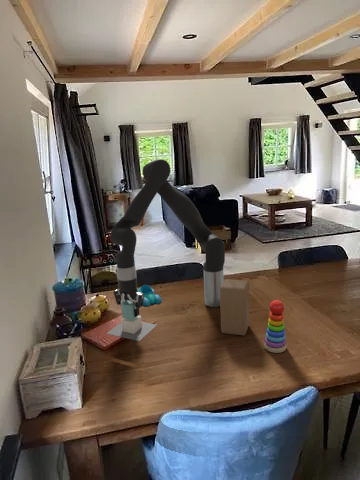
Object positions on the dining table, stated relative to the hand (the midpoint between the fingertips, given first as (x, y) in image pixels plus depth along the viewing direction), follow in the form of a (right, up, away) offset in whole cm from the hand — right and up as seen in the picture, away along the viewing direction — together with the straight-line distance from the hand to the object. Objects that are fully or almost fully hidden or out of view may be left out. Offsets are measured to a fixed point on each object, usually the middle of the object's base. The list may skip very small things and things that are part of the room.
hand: (130, 315), depth 150 cm
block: (+43, -6, -1) cm, 43 cm away
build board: (0, -7, +2) cm, 7 cm away
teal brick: (0, 0, 0) cm, 0 cm away
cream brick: (0, -6, +2) cm, 6 cm away
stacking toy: (+55, -9, -16) cm, 58 cm away
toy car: (+4, +1, +34) cm, 34 cm away
